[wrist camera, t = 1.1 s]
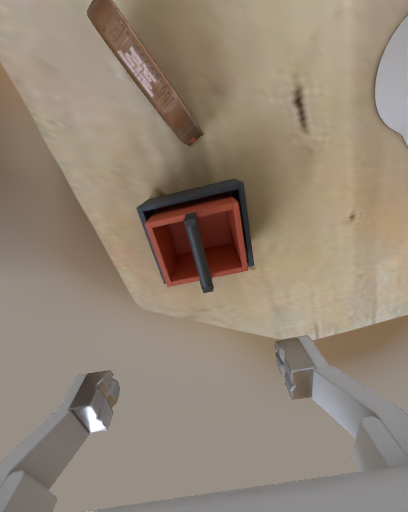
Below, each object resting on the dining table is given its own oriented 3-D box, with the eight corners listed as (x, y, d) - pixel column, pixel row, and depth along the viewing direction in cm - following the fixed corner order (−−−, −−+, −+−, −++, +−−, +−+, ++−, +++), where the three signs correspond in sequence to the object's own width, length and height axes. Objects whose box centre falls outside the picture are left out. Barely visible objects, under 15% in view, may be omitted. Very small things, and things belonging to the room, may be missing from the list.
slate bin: (234, 178, 31) (243, 182, 24) (244, 248, 36) (254, 265, 29) (148, 199, 32) (136, 207, 25) (170, 264, 37) (164, 284, 30)
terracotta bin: (227, 191, 31) (244, 207, 19) (235, 244, 34) (254, 283, 23) (159, 207, 31) (136, 231, 20) (175, 257, 35) (163, 301, 24)
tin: (204, 136, 28) (207, 126, 20) (188, 152, 29) (184, 148, 21) (124, 20, 23) (86, -52, 15) (106, 43, 24) (62, -15, 16)
